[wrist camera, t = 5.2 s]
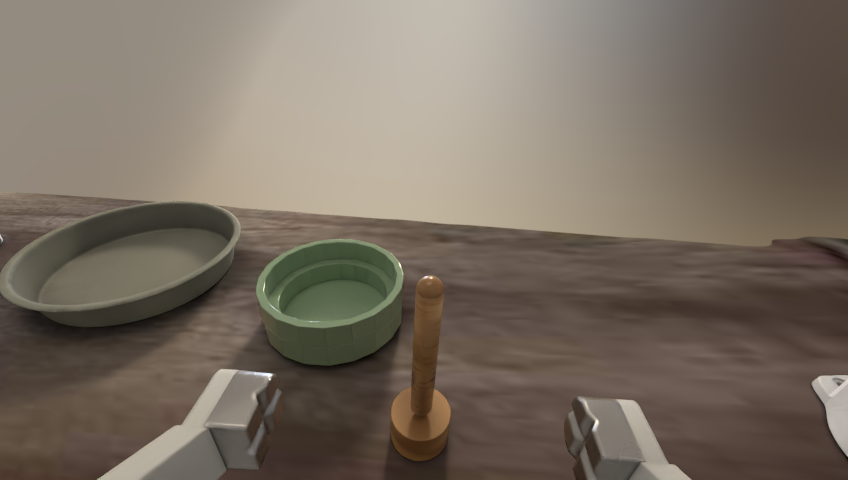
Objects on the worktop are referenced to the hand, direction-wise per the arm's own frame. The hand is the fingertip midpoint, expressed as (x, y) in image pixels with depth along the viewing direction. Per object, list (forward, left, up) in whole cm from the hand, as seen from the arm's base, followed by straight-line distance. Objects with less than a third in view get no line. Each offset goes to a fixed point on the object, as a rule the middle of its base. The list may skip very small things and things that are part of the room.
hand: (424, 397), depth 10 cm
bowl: (+2, -27, -22) cm, 35 cm away
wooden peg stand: (-4, -11, -22) cm, 25 cm away
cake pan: (+26, -41, -22) cm, 54 cm away
